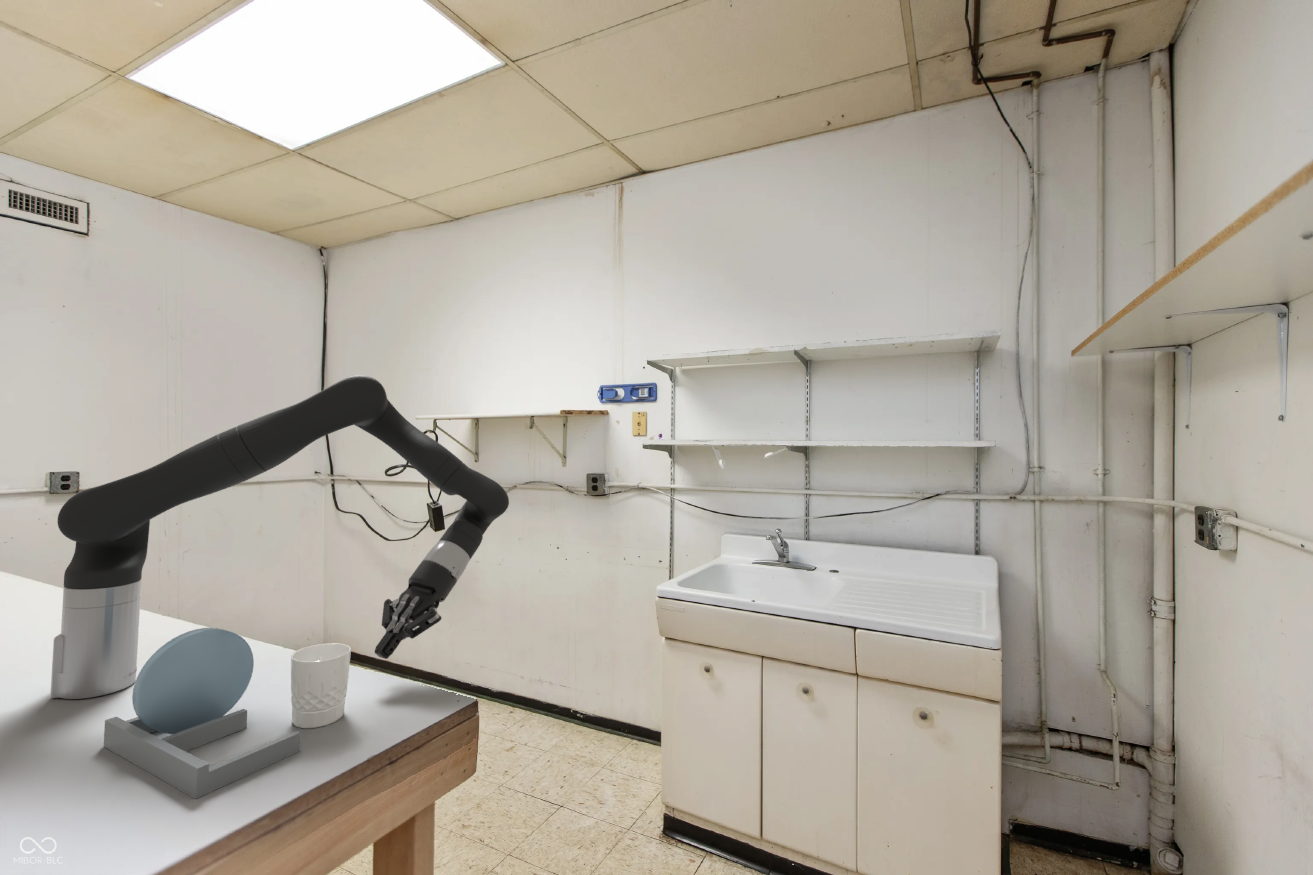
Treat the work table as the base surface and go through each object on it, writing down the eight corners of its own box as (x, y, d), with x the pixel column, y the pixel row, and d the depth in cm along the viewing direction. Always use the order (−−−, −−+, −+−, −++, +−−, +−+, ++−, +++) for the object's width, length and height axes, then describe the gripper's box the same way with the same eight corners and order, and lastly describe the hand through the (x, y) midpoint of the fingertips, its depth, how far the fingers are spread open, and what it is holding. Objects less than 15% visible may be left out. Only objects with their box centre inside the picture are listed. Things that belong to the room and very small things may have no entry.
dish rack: (230, 702, 90) (234, 613, 90) (322, 740, 80) (327, 639, 80) (103, 746, 76) (109, 640, 77) (195, 798, 66) (202, 677, 67)
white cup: (304, 736, 81) (308, 665, 81) (277, 720, 85) (280, 653, 85) (358, 715, 88) (361, 650, 88) (330, 701, 92) (333, 639, 92)
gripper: (404, 554, 108) (340, 637, 97) (456, 563, 102) (394, 652, 91) (425, 577, 113) (367, 658, 101) (476, 586, 107) (420, 674, 95)
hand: (380, 655), depth 96 cm, fingers closed
